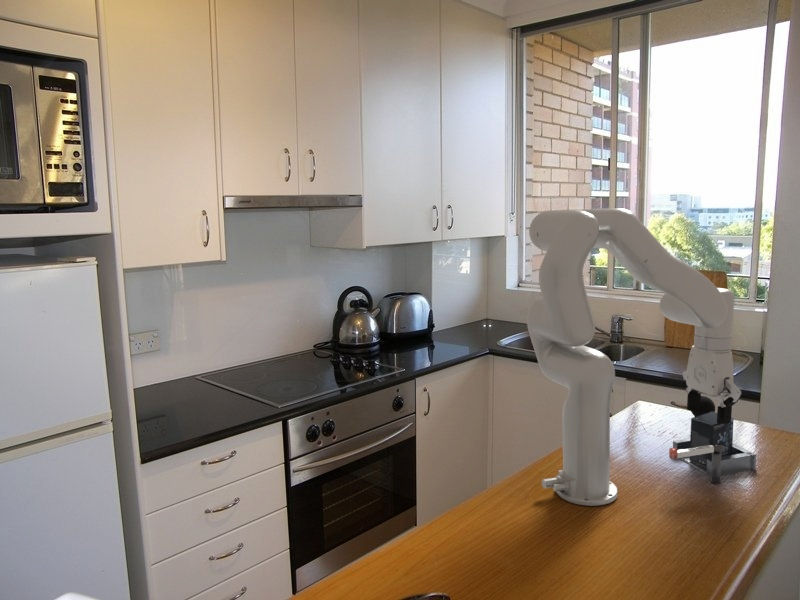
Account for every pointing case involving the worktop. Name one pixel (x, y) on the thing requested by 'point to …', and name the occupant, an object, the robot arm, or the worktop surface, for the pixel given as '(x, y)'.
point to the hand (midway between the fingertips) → (708, 416)
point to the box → (710, 436)
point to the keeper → (721, 461)
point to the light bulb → (704, 407)
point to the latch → (695, 450)
